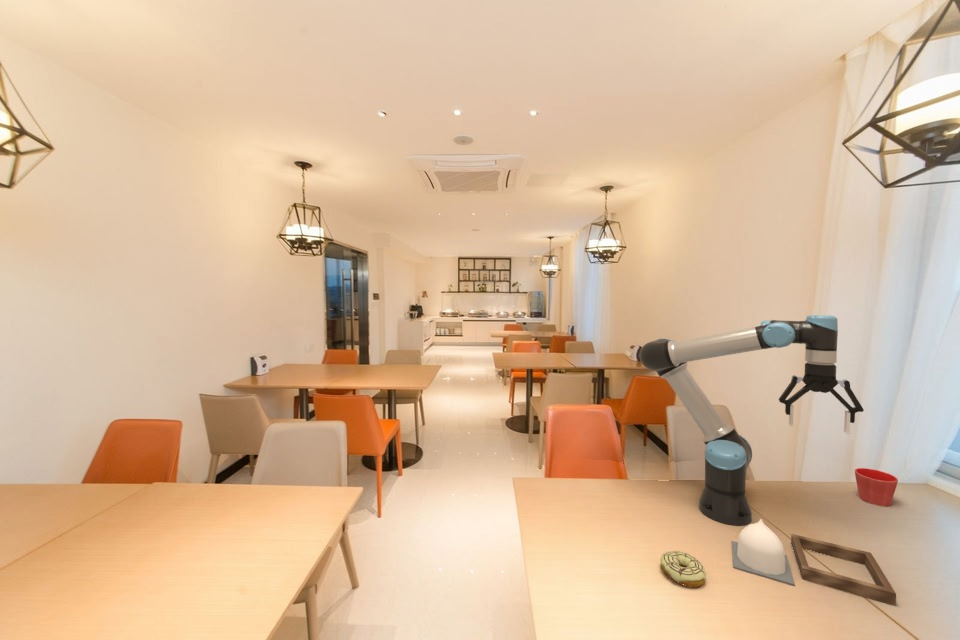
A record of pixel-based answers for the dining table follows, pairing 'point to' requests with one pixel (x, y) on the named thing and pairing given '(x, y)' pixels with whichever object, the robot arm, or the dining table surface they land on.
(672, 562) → the decorated donut
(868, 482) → the flower pot
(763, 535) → the teardrop
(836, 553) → the walnut collar
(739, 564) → the grey mat
